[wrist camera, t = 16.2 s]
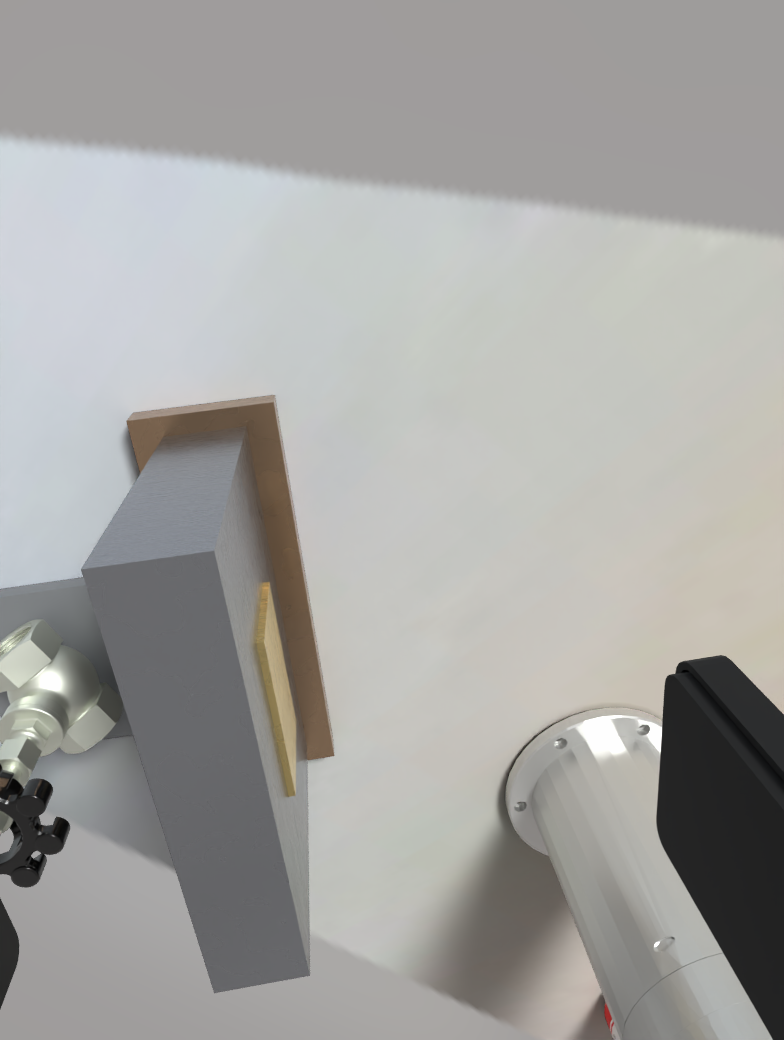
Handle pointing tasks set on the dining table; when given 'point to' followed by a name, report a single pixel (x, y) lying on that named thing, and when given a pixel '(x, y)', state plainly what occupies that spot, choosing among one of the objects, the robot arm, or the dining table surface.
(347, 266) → the dining table surface
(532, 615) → the dining table surface
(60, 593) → the parts mat
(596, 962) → the robot arm
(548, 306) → the dining table surface
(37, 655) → the valve
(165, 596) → the box
